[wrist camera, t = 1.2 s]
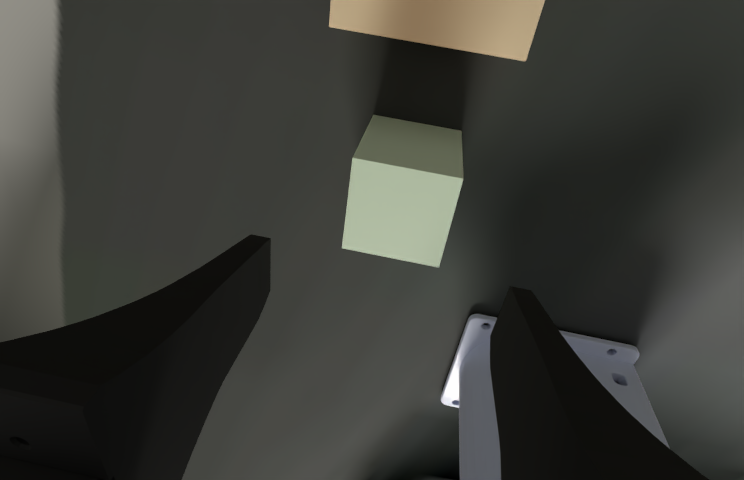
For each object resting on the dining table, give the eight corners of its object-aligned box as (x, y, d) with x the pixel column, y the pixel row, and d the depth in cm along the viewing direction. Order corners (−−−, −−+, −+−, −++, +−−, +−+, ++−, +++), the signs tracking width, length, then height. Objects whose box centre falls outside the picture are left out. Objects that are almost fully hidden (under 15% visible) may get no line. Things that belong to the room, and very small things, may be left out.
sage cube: (461, 130, 20) (463, 178, 16) (441, 207, 22) (439, 267, 18) (373, 114, 20) (352, 157, 16) (362, 192, 22) (341, 248, 18)
